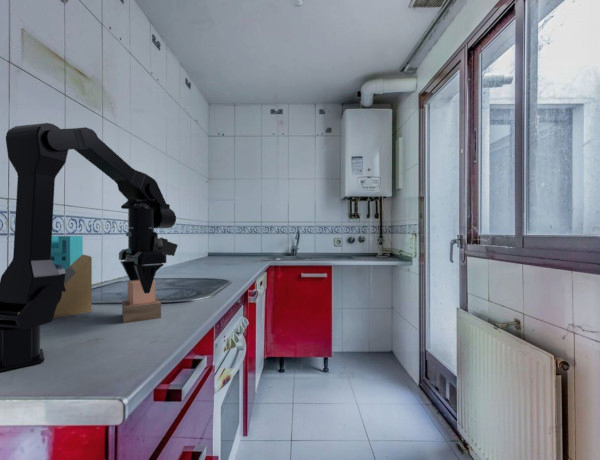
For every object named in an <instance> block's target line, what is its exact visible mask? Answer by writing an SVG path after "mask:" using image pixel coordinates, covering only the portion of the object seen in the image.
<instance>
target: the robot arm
mask: <svg viewBox="0 0 600 460" xmlns="http://www.w3.org/2000/svg"><path fill="white" fill-rule="evenodd" d="M5 144H6V152H7V157H8V160H9V161H10V163H11V165H12V167H13V168H14V170H15V172H16V175H17V184H16V185H17V186H16V188H17V189H16V204H15V219H14V237H13V238H14V239H13V254H12V255H13V256H12V259H11V262H10V263H9V264H8V266H7V267H6V269H5V270H4V272H3V273H2V274H1V276H0V372H4V371H8V370H12V369H17V368H23V367H27V366H32V365H36V364H41V363H43V362H45V356H44V351H43V348H41V325H44V324H49V323H52V321H53V319H54V318H53V316H54V313H55V310H56V307H57V304H58V303H59V302H60V300H61V297H62V292H65V291H66V289H65V287H64V279H65V275H66V272H65V269H64V268H56V267H55V265H54V264H53V262H52V260H51V245H52V236H53V222H54V201H55V182H56V177H57V176H58V175H59V173H60V171H61V170H62V168H64V165H65V164H66V162H67V157H68V153H69V150H74V151H75V152H77V154H79V155H80V156H82V157H83V158H84V159H85V160H86V161H89V162H90V163H91V164H92V165H93V166H95V167H96V168H97V169H98V170H100V171H101V172H102V173H103V174H105V175H106V176H107V177H108V178H110V179H111V180H112V181H114V182H115V183H116V185H117V188H118V191H119V192H120V193H121V194H122V195H123V196H124V198H125V199H126V202H125V203H122V205H121V206H120V208H121V209H122V210H127V212H128V213H127V214H128V216H127V219H128V220H127V222H128V223H127V224H128V226H127V228H128V229H127V231H125V236H126V237H127V238H128V239H127V240H128V243H127V244H128V246H127V247H128V248H123V249H121V250H120V251H119V252H118V260H119V261H120V264H121V265H122V267H123V269H124V271H125V273H126V275H127V277H128V279H129V281H132V280H139V281H140V283H141V286H142V289H143V291H144V293H145V294H146V293H150V290H151V286H152V283H153V281H154V279H155V276H156V273H157V271H159V269H161V268H162V267H164V265H165V264H167V256H172V257H175V254H176V251H177V249H178V246H179V245H178V244H177V243H174V242H171V241H169V240H168V239H167V238H163V237H158V235H159V234H158V233H157V232H156V231H155V229H171V228H173V226H175V224H176V221H177V216H176V214H175V211H174V210H172V208H170V204H168V203H167V202H166V200H165V198H164V195H163V193H162V190H161V189H160V187H159V185H158V182H157V180H155V178H153V177H151V176H150V175H149V174H147V173H144V172H142V171H139V170H137V169H134V168H133V167H132V166H130V164H129V163H127V162H126V161H125V160H124V159H123V158H122V157H121V156H119V154H117V153H116V152H115V151H114V150H113V149H112V148H110V147H109V146H108V145H107V144H106V143H105V142H104V141H103V140H102V139H100V137H98V135H97V132H95V130H93V129H92V128H89V127H75V128H74V127H73V128H60V127H59V126H57V125H55V124H53V123H49V122H44V123H43V122H42V123H36V124H25V125H17V126H13V127H12V128H10V129H9V128H8V130H7V132H6V135H5ZM18 312H20V313H19V314H18Z"/></svg>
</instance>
